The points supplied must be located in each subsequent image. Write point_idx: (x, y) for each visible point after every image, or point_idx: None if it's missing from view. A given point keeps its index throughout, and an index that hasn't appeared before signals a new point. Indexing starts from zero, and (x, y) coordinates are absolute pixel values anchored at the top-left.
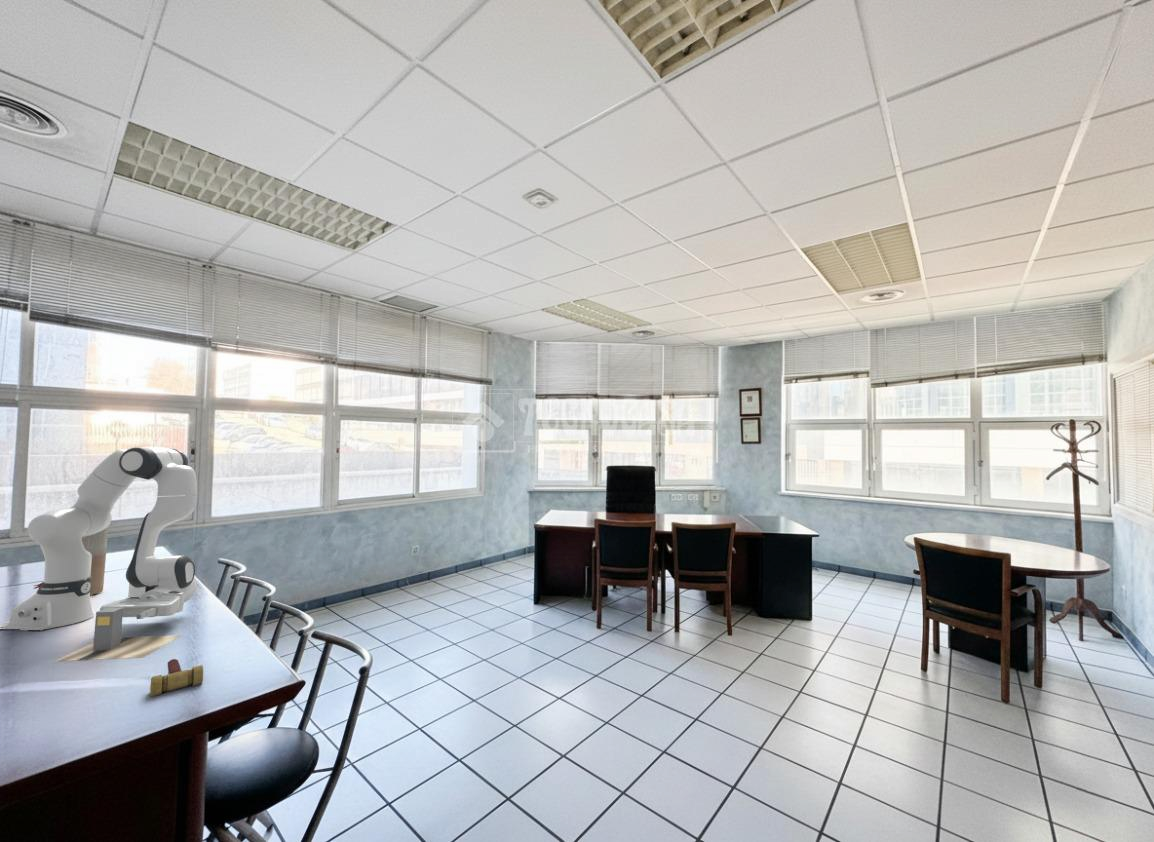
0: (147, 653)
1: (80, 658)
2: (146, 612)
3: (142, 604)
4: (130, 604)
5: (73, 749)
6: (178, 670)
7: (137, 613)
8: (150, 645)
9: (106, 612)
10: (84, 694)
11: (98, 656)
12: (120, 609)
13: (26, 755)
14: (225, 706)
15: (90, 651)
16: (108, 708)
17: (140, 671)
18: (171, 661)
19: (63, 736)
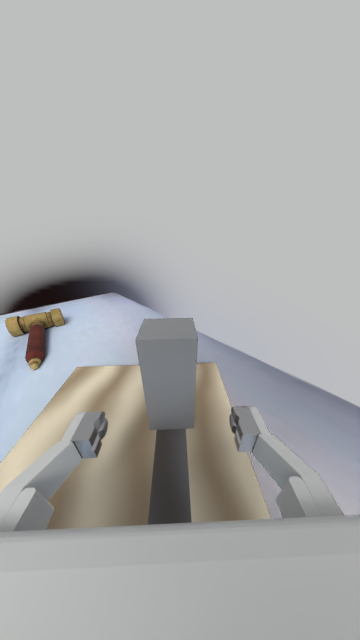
0: (72, 379)
1: None
2: (61, 443)
3: (97, 604)
4: (248, 627)
5: (98, 298)
6: (32, 326)
7: (101, 413)
8: (69, 421)
9: (164, 320)
10: (121, 325)
11: None
12: (138, 334)
13: (117, 297)
14: (12, 313)
15: None
16: (93, 314)
17: (79, 353)
18: (35, 346)
19: (108, 302)
